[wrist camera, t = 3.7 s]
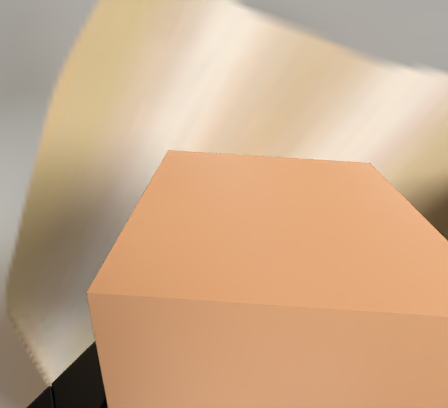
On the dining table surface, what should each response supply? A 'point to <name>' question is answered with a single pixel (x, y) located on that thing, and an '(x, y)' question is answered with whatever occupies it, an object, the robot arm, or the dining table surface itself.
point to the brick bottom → (272, 290)
